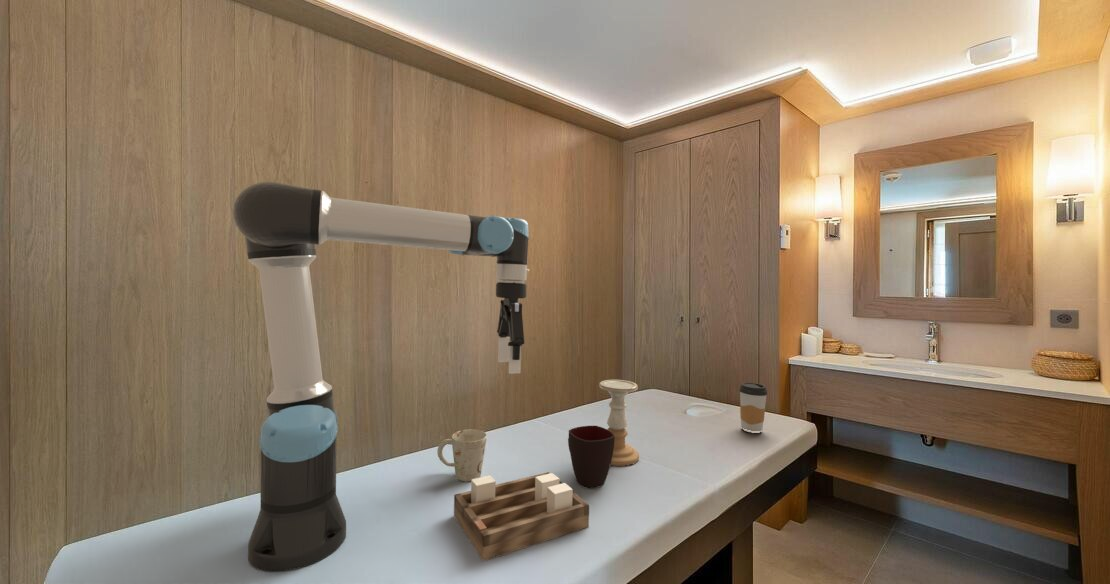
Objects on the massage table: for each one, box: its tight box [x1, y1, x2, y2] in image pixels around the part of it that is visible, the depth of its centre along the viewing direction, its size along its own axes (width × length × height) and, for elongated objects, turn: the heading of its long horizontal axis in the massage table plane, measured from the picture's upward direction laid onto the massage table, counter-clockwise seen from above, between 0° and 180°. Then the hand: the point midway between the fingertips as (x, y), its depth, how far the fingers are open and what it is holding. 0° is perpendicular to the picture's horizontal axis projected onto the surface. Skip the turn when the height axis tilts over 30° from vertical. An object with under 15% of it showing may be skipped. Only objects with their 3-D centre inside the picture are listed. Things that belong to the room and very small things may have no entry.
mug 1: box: [437, 428, 487, 482], centre depth 107 cm, size 8×13×10 cm, turn 78°
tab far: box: [470, 474, 497, 504], centre depth 89 cm, size 4×3×5 cm
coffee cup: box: [739, 382, 768, 431], centre depth 144 cm, size 8×8×15 cm
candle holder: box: [598, 379, 640, 467], centre depth 120 cm, size 12×12×20 cm
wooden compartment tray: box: [453, 471, 590, 562], centre depth 88 cm, size 22×16×5 cm
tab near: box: [547, 482, 574, 513], centre depth 86 cm, size 4×3×5 cm
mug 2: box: [567, 425, 615, 489], centre depth 106 cm, size 10×14×12 cm
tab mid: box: [535, 472, 560, 501], centre depth 91 cm, size 4×3×5 cm
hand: (508, 367), depth 109 cm, fingers open, 13 cm apart
